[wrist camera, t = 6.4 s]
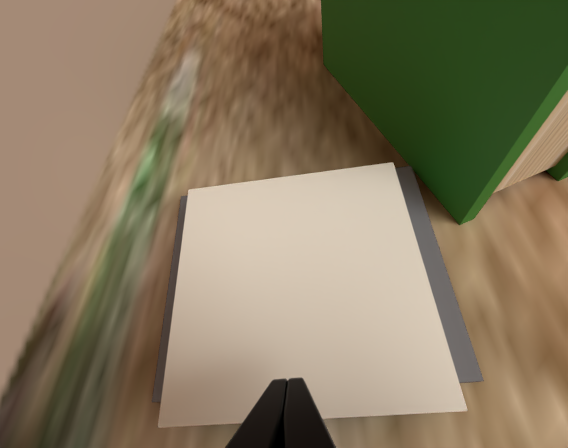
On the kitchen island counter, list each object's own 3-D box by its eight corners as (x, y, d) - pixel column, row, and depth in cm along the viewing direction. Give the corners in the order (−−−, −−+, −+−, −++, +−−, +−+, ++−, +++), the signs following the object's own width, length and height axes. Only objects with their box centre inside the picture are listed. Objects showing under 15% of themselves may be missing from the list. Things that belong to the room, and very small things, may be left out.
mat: (479, 381, 14) (483, 380, 13) (157, 401, 15) (151, 402, 15) (410, 170, 20) (411, 165, 19) (184, 200, 21) (181, 196, 21)
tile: (467, 411, 11) (393, 162, 16) (157, 427, 12) (188, 189, 17) (442, 409, 13) (385, 195, 19) (190, 423, 14) (207, 217, 20)
